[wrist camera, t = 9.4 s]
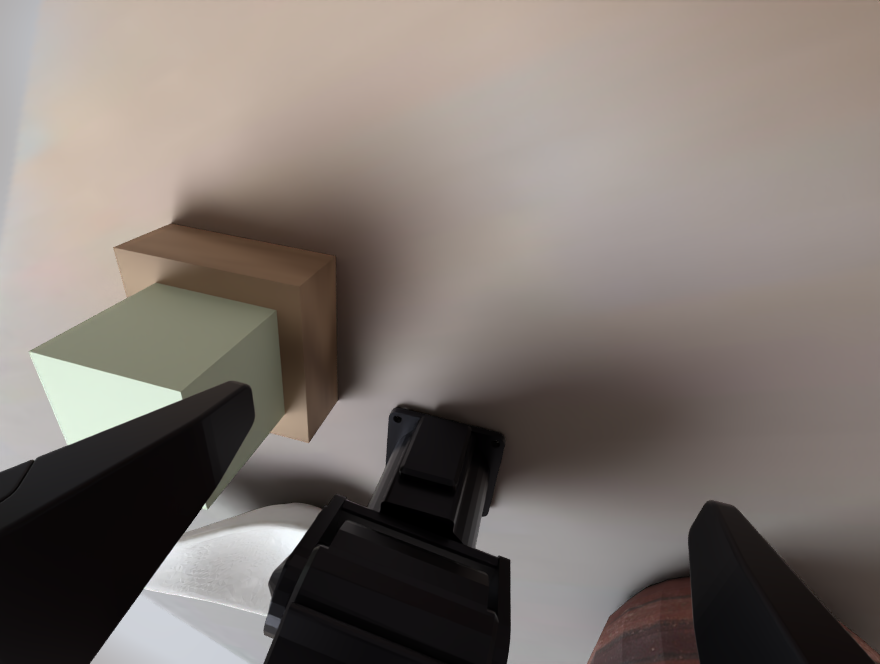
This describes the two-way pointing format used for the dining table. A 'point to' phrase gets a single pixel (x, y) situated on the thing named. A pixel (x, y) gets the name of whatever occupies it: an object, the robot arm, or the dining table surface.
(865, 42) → the dining table surface
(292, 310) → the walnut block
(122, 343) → the sage block
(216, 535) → the spoon rest
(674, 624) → the pottery
